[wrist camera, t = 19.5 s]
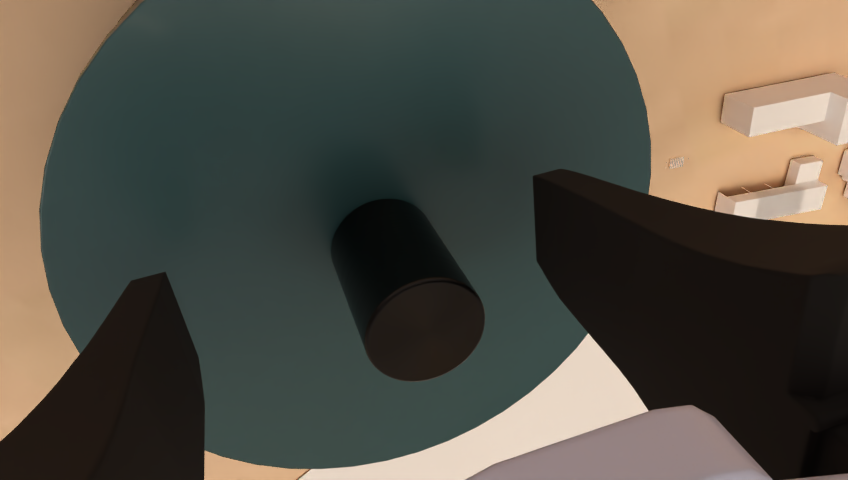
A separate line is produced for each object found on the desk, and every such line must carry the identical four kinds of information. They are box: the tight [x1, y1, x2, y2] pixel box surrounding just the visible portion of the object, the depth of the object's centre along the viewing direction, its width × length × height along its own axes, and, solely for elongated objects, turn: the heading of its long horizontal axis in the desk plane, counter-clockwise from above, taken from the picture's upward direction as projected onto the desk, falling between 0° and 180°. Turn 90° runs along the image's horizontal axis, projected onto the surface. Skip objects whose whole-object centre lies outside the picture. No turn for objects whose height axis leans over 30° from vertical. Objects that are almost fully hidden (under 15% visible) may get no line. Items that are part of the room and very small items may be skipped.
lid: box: [39, 0, 651, 469], centre depth 15 cm, size 14×14×5 cm
